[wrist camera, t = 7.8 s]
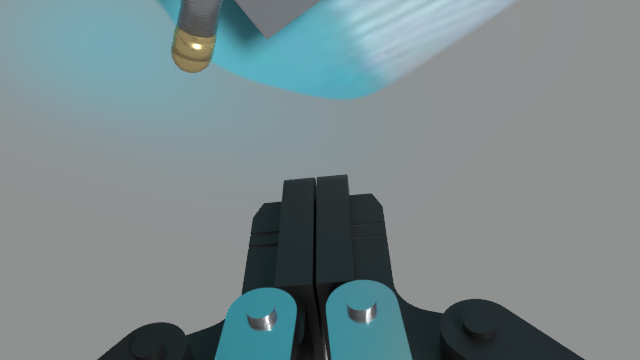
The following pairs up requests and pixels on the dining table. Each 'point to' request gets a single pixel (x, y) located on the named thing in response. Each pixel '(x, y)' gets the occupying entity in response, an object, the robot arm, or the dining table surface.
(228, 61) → the dining table surface
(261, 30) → the switch base
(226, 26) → the dining table surface
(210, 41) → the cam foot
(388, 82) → the dining table surface
